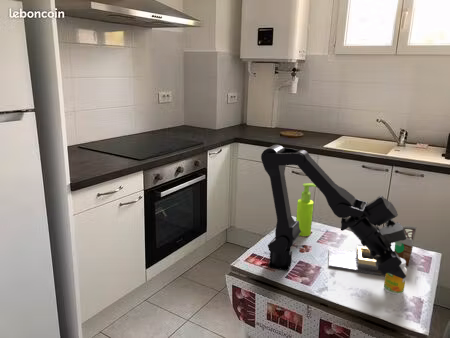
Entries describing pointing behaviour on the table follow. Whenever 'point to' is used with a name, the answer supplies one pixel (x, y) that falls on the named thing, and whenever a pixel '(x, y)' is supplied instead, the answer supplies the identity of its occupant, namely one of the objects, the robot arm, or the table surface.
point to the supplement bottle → (395, 281)
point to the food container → (406, 244)
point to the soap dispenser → (305, 210)
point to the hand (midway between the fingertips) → (401, 270)
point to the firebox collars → (354, 260)
